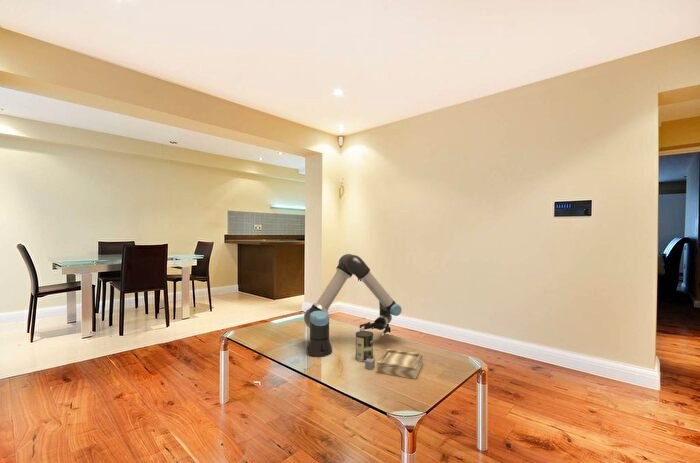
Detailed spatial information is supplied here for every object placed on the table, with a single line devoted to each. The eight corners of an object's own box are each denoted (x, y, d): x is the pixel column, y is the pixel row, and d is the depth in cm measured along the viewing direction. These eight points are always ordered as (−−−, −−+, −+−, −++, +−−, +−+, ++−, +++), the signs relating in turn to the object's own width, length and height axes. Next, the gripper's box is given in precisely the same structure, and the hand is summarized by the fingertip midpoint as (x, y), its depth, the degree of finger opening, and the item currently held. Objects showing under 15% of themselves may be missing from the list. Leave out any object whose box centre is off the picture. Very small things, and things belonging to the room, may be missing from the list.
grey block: (365, 368, 166) (365, 361, 166) (367, 365, 170) (367, 358, 170) (372, 369, 165) (372, 362, 165) (374, 366, 168) (374, 359, 168)
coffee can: (374, 355, 184) (374, 331, 184) (372, 362, 174) (372, 336, 174) (357, 353, 186) (357, 330, 186) (353, 360, 176) (353, 335, 176)
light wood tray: (376, 372, 162) (376, 362, 162) (387, 357, 180) (387, 348, 180) (415, 379, 154) (415, 368, 154) (422, 363, 173) (422, 353, 173)
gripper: (399, 330, 204) (391, 341, 185) (363, 326, 214) (351, 336, 194) (399, 318, 205) (390, 328, 185) (363, 315, 214) (351, 324, 194)
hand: (370, 332), depth 190 cm, fingers open, 13 cm apart
